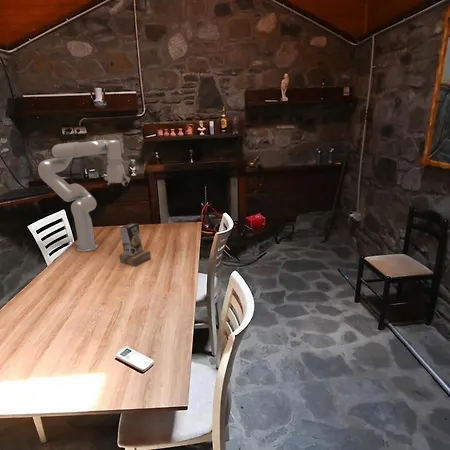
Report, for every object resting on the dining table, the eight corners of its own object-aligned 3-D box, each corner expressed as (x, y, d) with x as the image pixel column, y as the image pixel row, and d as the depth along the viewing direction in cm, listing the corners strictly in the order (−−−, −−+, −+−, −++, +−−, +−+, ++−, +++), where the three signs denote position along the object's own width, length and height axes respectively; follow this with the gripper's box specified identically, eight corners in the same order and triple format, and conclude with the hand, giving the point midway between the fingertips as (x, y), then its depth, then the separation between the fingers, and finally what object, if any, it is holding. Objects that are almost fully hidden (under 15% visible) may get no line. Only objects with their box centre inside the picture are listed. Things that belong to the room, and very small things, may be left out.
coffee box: (133, 256, 192) (128, 228, 188) (124, 255, 195) (118, 227, 190) (143, 250, 200) (138, 223, 195) (134, 249, 203) (129, 222, 198)
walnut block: (120, 263, 197) (119, 254, 196) (135, 256, 207) (134, 248, 205) (135, 267, 191) (134, 258, 190) (150, 259, 201) (150, 251, 199)
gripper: (98, 163, 200) (102, 192, 205) (123, 163, 194) (127, 194, 199) (107, 161, 206) (110, 190, 211) (131, 161, 200) (134, 191, 205)
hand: (118, 191), depth 205 cm, fingers open, 9 cm apart
